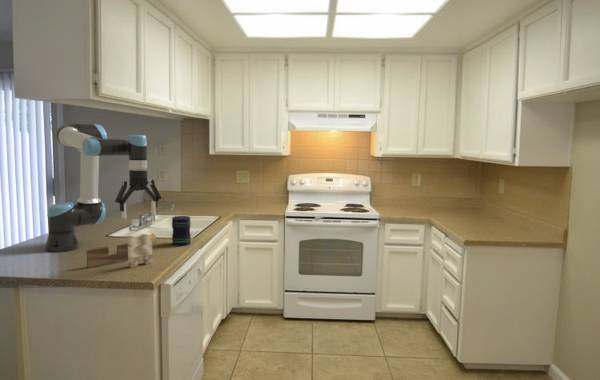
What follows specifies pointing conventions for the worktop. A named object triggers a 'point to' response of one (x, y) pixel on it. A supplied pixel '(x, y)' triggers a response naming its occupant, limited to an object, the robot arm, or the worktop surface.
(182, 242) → the storage jar
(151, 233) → the potato
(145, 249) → the birch plate
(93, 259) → the walnut board
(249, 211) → the worktop surface
